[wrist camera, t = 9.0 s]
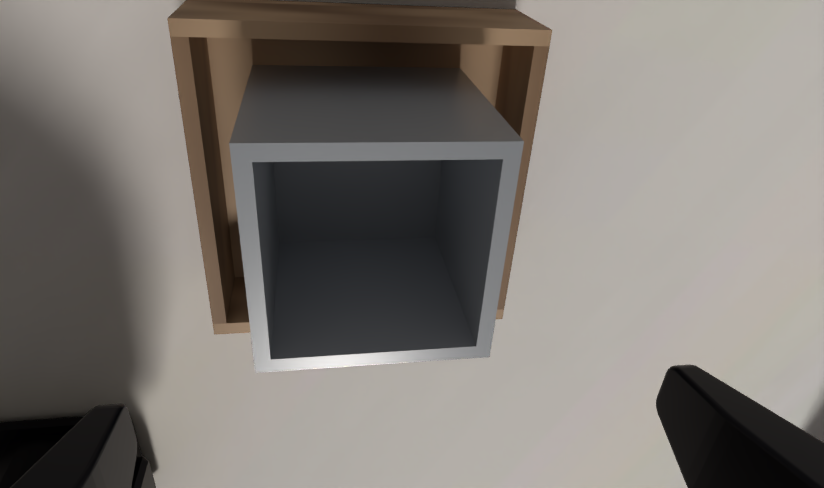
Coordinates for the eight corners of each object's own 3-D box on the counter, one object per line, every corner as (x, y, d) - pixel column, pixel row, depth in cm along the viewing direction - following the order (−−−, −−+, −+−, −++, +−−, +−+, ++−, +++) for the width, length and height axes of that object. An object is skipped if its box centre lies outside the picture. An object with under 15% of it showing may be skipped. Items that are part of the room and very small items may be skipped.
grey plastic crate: (268, 246, 19) (255, 373, 14) (252, 64, 16) (229, 143, 11) (443, 241, 20) (489, 357, 15) (459, 67, 17) (523, 141, 12)
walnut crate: (225, 279, 20) (214, 334, 18) (189, -3, 16) (167, 17, 13) (479, 269, 22) (502, 319, 19) (516, 9, 17) (551, 29, 15)
